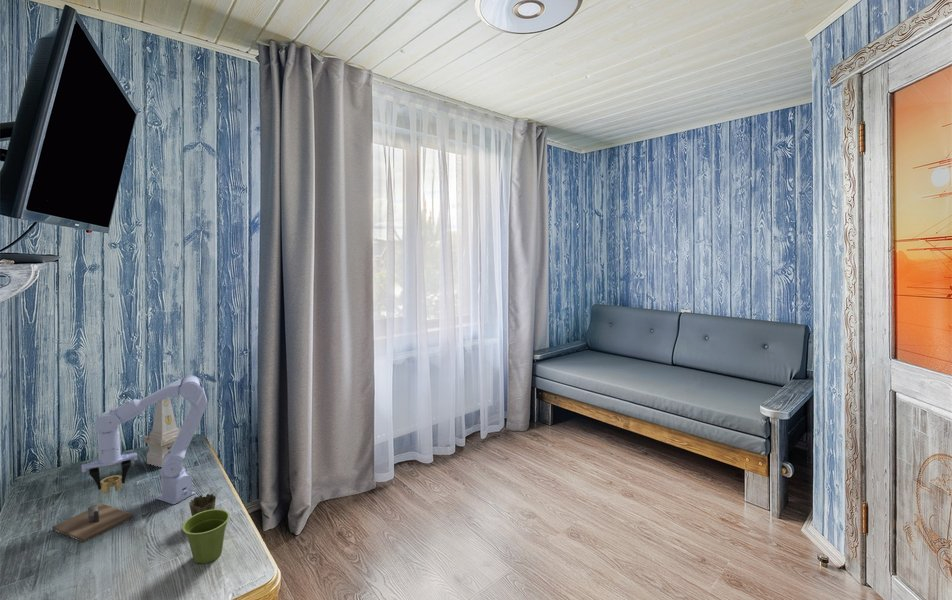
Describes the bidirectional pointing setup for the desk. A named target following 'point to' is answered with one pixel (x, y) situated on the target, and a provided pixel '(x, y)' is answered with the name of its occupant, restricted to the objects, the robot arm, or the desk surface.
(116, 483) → the brass collar
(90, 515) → the post stand
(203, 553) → the plant pot
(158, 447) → the miniature monument
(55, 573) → the desk surface
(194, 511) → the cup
